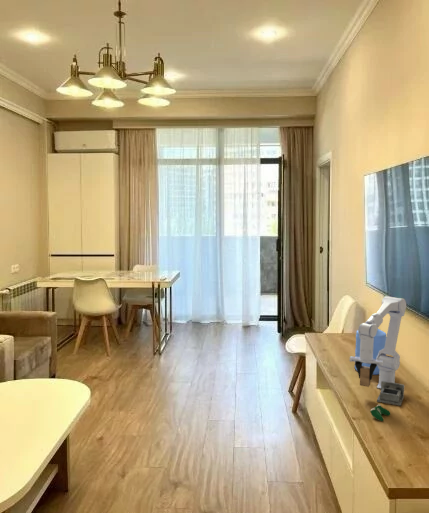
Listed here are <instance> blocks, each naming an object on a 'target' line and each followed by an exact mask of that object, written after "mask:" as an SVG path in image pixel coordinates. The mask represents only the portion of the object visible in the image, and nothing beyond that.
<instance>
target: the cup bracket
mask: <svg viewBox="0 0 429 513" xmlns="http://www.w3.org/2000/svg"><path fill="white" fill-rule="evenodd" d="M404 398H405V384H403V383H397V382H395V383H392V382H386V381H381V389H380V391H379V395H378V396H377V399H376V402H377V403H381V402H382V404H387V405H393V406H398V407H400V406H402V403H403V401H404Z"/></svg>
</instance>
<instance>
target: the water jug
mask: <svg viewBox="0 0 429 513" xmlns="http://www.w3.org/2000/svg"><path fill="white" fill-rule="evenodd" d="M386 337H387V333H386V332H385V331H383V330H381V329H379V328H378V330H377V333H376V335H375V336H374V343H373V359H376V358H377V356H378V353H379V351H380V350H382V349H384V347H385V342H386ZM360 340H361V339H360V338H359V333H358V329H356V333H355V350H354V351H355V352H354V354H355V356H354V357H360ZM385 355H387V354H385ZM370 365H371V364H367V363H362V366H366V367H370ZM354 369H355V370H356V371H357V368H356V366H355V365H354ZM379 371H380V369H379V368H378V366H376V368H375V370H374V372H373V375H375V376H376V375H379ZM373 375H372V376H373Z"/></svg>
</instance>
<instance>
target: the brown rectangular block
mask: <svg viewBox="0 0 429 513" xmlns="http://www.w3.org/2000/svg"><path fill="white" fill-rule="evenodd" d="M369 377H370V367H366V366H362V367H361V368H360V378H359V386H361V387H367V388H369V387H370V385H371V380H369Z"/></svg>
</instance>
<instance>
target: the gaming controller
mask: <svg viewBox="0 0 429 513" xmlns="http://www.w3.org/2000/svg"><path fill="white" fill-rule="evenodd" d="M370 414H371V416H372V417H374V418H375V419H376V420H377V421H380V422H383V421H384V417H383V415H384V416H388V417H390V416H391V412H390V411H389V410H388V409H386V408H384V407H383V406H382V405H381V403H378V404H377V405H376V406H375V407H373V408H371V409H370Z"/></svg>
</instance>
